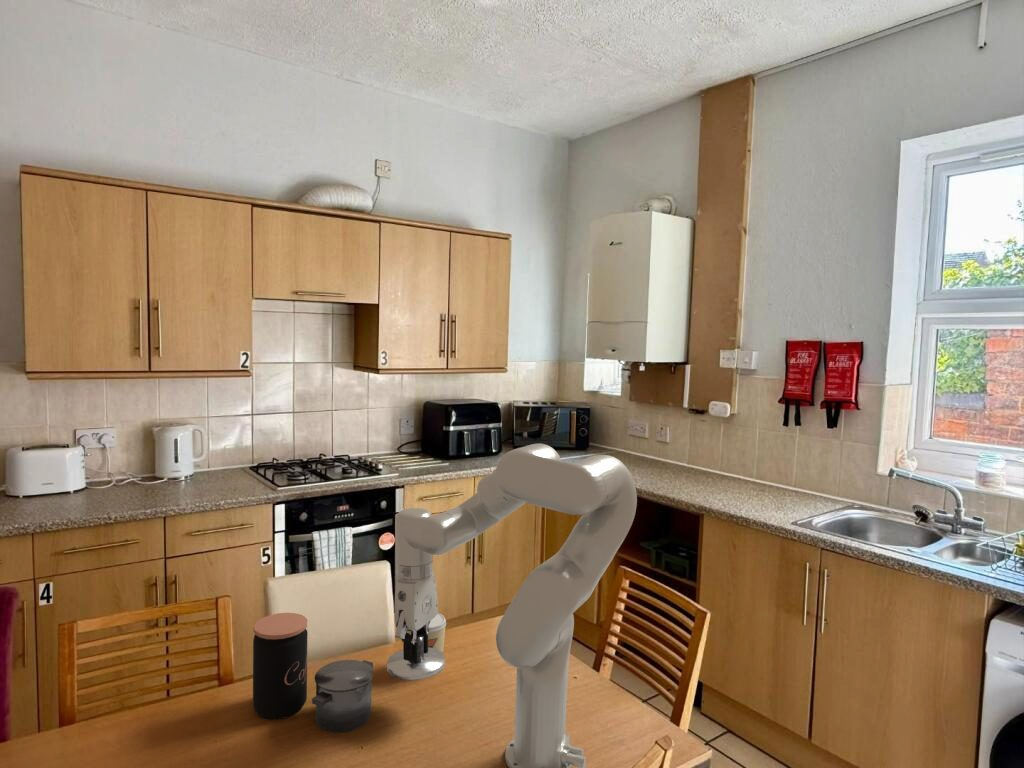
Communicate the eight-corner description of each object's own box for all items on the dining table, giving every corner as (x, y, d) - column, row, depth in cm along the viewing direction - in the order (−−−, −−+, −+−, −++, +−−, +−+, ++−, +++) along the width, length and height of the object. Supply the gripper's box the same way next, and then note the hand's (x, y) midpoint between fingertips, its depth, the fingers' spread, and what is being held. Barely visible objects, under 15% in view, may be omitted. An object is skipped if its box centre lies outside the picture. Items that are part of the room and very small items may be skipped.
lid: (455, 658, 136) (455, 629, 136) (426, 684, 125) (425, 654, 125) (407, 648, 141) (407, 620, 141) (375, 673, 130) (374, 643, 130)
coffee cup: (398, 674, 148) (399, 624, 148) (415, 655, 157) (416, 608, 157) (435, 681, 146) (436, 630, 145) (451, 662, 155) (452, 614, 154)
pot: (390, 702, 137) (391, 662, 136) (340, 747, 122) (341, 701, 121) (346, 689, 141) (346, 650, 141) (293, 730, 126) (293, 686, 125)
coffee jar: (289, 725, 128) (290, 638, 127) (241, 717, 130) (242, 631, 129) (316, 696, 138) (317, 615, 137) (271, 689, 140) (272, 609, 139)
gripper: (408, 585, 123) (410, 678, 124) (449, 559, 138) (450, 642, 139) (376, 580, 126) (377, 671, 127) (419, 555, 141) (421, 637, 142)
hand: (416, 655), depth 133 cm, fingers closed on lid, 3 cm apart
